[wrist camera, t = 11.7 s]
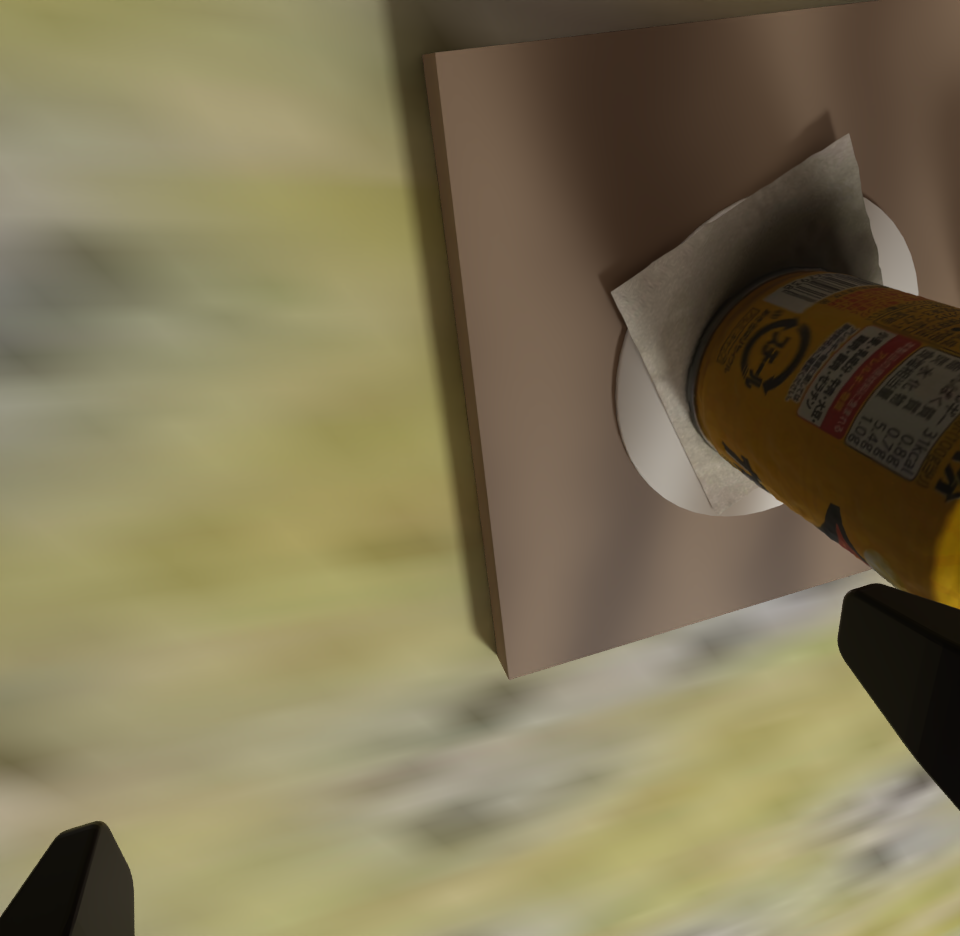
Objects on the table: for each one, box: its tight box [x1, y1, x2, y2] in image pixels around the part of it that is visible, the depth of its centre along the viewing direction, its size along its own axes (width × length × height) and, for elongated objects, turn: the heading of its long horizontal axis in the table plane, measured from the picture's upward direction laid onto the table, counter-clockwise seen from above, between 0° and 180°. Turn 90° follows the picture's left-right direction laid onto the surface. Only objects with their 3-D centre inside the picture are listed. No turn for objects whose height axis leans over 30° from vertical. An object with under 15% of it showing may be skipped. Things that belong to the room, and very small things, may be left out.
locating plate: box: [422, 0, 960, 680], centre depth 21 cm, size 22×18×7 cm
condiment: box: [611, 133, 960, 609], centre depth 17 cm, size 7×8×12 cm
